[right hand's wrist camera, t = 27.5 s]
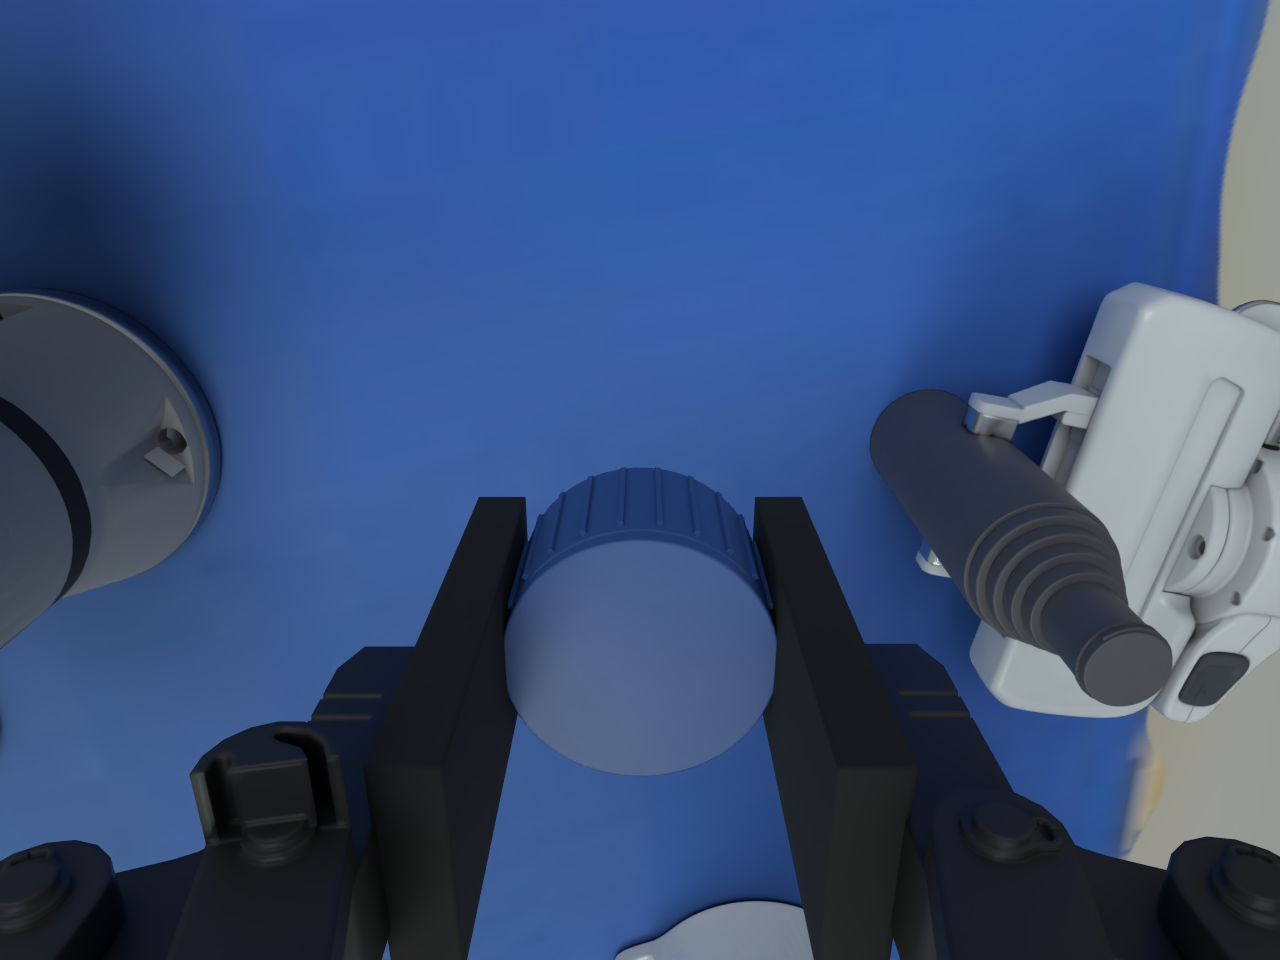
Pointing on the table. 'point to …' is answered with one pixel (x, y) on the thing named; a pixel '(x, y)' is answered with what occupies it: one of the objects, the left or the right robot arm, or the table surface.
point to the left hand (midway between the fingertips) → (945, 484)
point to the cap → (640, 625)
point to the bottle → (1019, 546)
